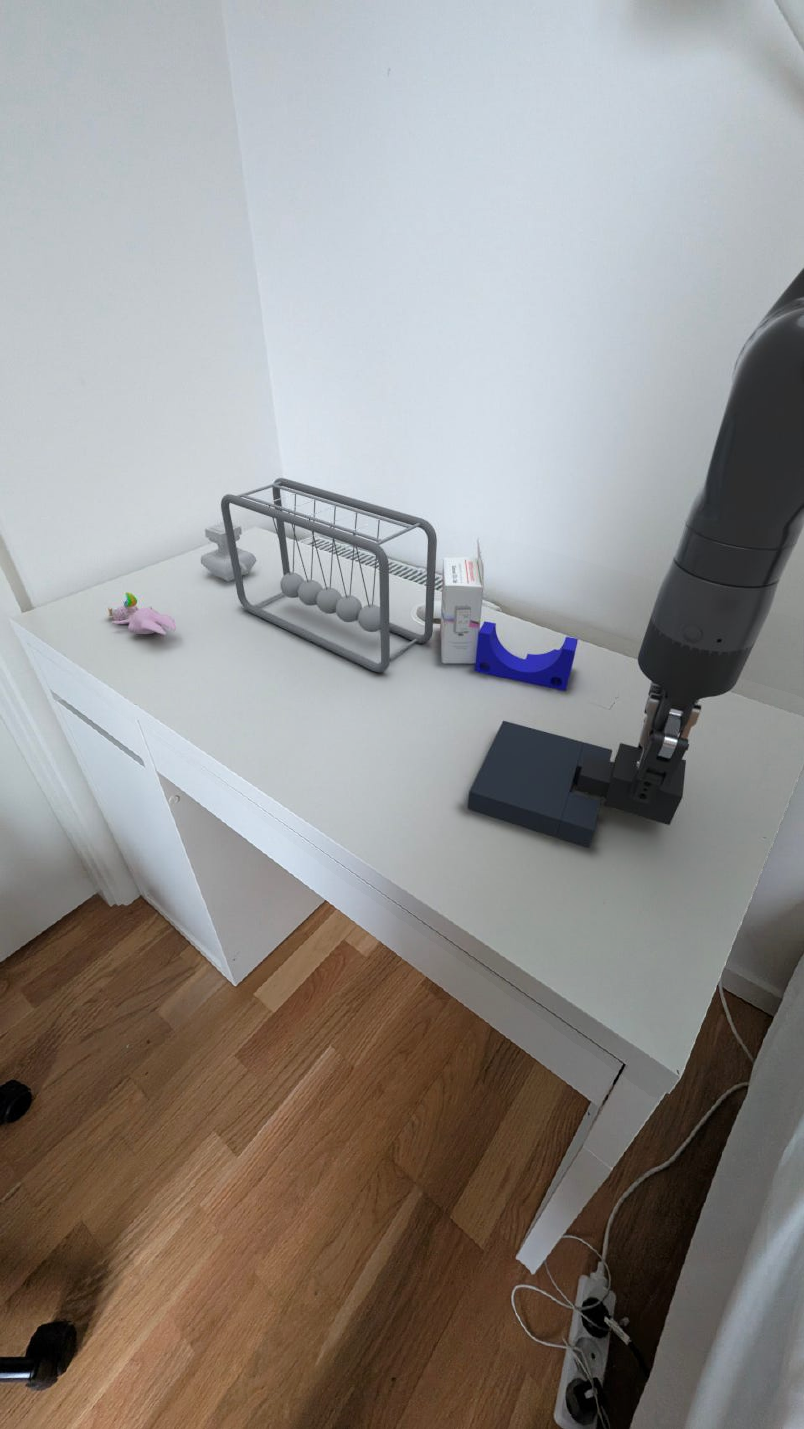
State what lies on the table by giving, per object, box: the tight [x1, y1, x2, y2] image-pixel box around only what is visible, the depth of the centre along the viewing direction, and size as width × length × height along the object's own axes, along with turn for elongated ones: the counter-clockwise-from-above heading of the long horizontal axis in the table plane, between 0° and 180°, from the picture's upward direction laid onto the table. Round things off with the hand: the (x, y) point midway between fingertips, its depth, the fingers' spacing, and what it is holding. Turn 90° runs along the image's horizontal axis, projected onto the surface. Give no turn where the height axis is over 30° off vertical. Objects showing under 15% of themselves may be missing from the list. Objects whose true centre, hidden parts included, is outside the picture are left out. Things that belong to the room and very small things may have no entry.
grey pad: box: [467, 720, 613, 848], centre depth 60 cm, size 12×12×2 cm
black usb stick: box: [575, 742, 687, 826], centre depth 55 cm, size 9×5×4 cm, turn 66°
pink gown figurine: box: [107, 592, 177, 636], centre depth 83 cm, size 6×6×15 cm
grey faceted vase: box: [200, 521, 257, 582], centre depth 96 cm, size 9×7×8 cm
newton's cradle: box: [220, 477, 438, 673], centre depth 80 cm, size 30×10×18 cm, turn 51°
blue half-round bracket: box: [474, 620, 579, 692], centre depth 75 cm, size 12×4×6 cm, turn 69°
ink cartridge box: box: [439, 536, 485, 665], centre depth 77 cm, size 9×5×15 cm, turn 179°
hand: (642, 778), depth 55 cm, fingers closed on black usb stick, 5 cm apart
